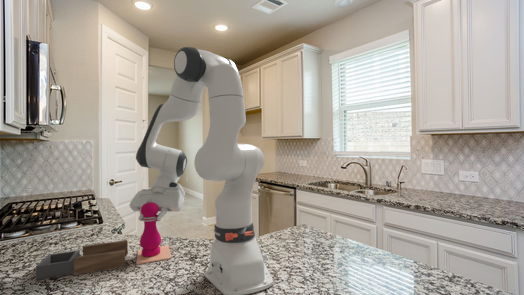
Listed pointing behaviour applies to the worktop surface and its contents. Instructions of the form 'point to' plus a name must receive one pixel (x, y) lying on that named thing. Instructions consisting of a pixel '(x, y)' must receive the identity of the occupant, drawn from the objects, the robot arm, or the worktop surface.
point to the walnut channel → (101, 257)
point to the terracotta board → (161, 256)
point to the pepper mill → (150, 230)
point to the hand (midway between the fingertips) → (149, 220)
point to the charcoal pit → (56, 265)
